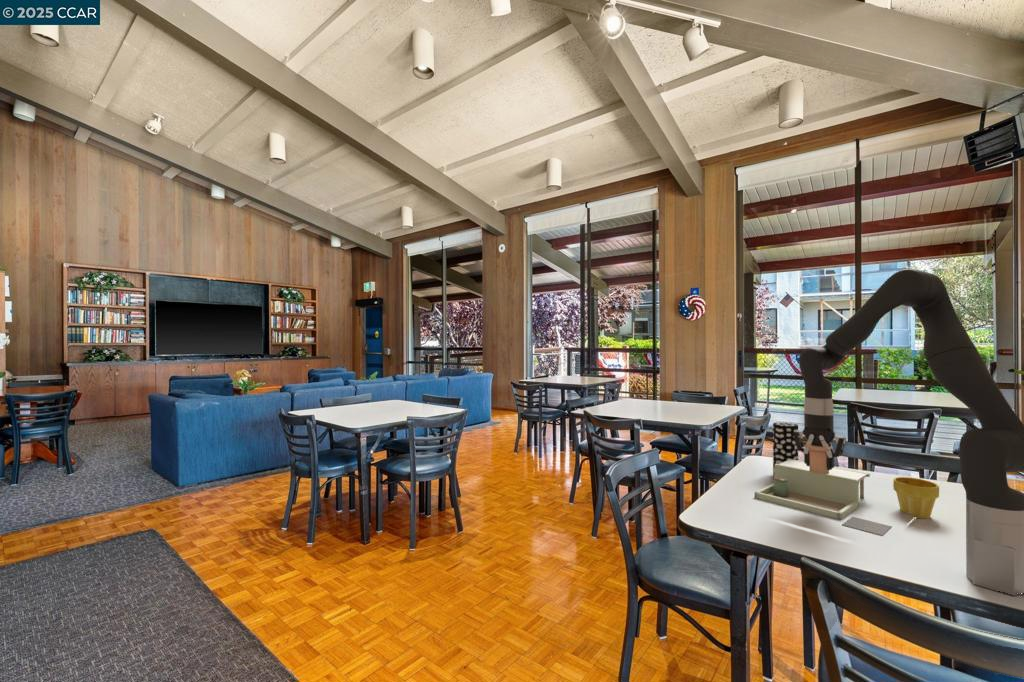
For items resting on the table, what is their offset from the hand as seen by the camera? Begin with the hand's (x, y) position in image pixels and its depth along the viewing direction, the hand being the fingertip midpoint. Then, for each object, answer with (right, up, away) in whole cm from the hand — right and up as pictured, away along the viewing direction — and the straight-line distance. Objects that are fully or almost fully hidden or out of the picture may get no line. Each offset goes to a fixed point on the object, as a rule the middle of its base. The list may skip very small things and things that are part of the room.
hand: (819, 467), depth 142 cm
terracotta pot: (0, -1, 0) cm, 1 cm away
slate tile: (+3, -13, -14) cm, 20 cm away
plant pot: (+26, -13, -4) cm, 29 cm away
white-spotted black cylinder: (+10, -13, +34) cm, 38 cm away
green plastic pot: (-5, -12, +11) cm, 17 cm away
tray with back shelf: (+3, -13, +8) cm, 16 cm away
